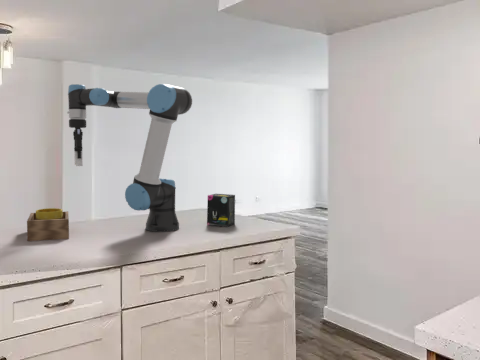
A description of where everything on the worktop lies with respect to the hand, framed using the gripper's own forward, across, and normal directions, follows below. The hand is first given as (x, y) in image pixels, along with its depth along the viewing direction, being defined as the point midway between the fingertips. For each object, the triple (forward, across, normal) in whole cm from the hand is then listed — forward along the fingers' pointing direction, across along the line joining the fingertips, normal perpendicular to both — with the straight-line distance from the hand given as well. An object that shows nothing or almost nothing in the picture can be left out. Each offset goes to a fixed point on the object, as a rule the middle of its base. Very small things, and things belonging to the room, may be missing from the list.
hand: (78, 165), depth 212 cm
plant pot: (+28, +16, -13) cm, 35 cm away
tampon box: (+29, +16, +64) cm, 72 cm away
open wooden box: (+28, +16, -13) cm, 35 cm away
